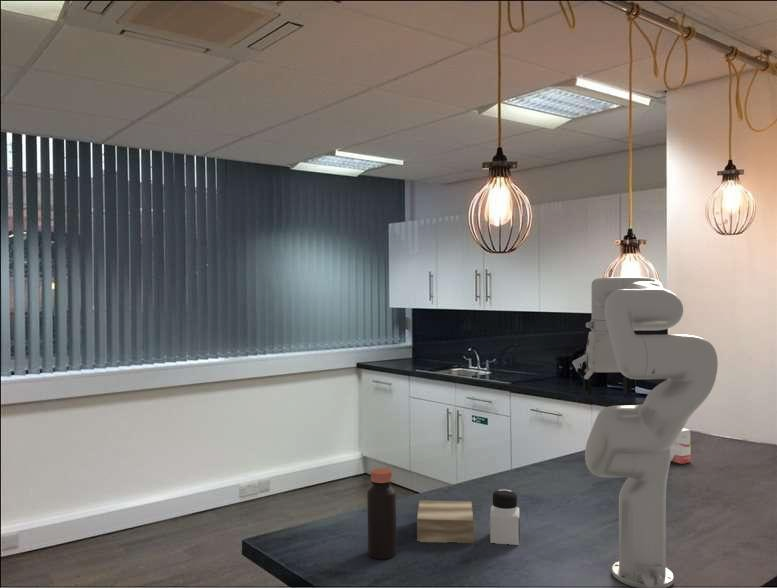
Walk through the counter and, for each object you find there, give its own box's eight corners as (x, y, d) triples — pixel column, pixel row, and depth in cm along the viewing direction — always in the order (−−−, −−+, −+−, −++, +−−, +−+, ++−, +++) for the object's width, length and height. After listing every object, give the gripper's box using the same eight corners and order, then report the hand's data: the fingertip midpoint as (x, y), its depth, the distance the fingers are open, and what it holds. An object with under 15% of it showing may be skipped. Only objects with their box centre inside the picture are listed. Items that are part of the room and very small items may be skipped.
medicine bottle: (519, 545, 159) (519, 497, 159) (490, 543, 160) (489, 495, 160) (519, 534, 166) (519, 488, 166) (491, 532, 167) (491, 486, 167)
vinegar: (380, 545, 160) (379, 465, 159) (402, 553, 155) (401, 470, 155) (362, 555, 154) (361, 471, 154) (384, 562, 150) (383, 477, 150)
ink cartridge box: (691, 462, 229) (691, 421, 228) (681, 464, 227) (681, 422, 226) (671, 456, 236) (671, 416, 236) (661, 458, 234) (661, 418, 234)
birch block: (473, 544, 161) (473, 520, 161) (417, 542, 162) (417, 519, 162) (471, 523, 175) (471, 501, 175) (419, 522, 176) (419, 500, 176)
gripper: (576, 328, 161) (576, 396, 161) (647, 327, 160) (647, 396, 161) (569, 326, 168) (569, 391, 169) (636, 325, 168) (636, 391, 168)
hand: (607, 393), depth 165 cm, fingers open, 9 cm apart
